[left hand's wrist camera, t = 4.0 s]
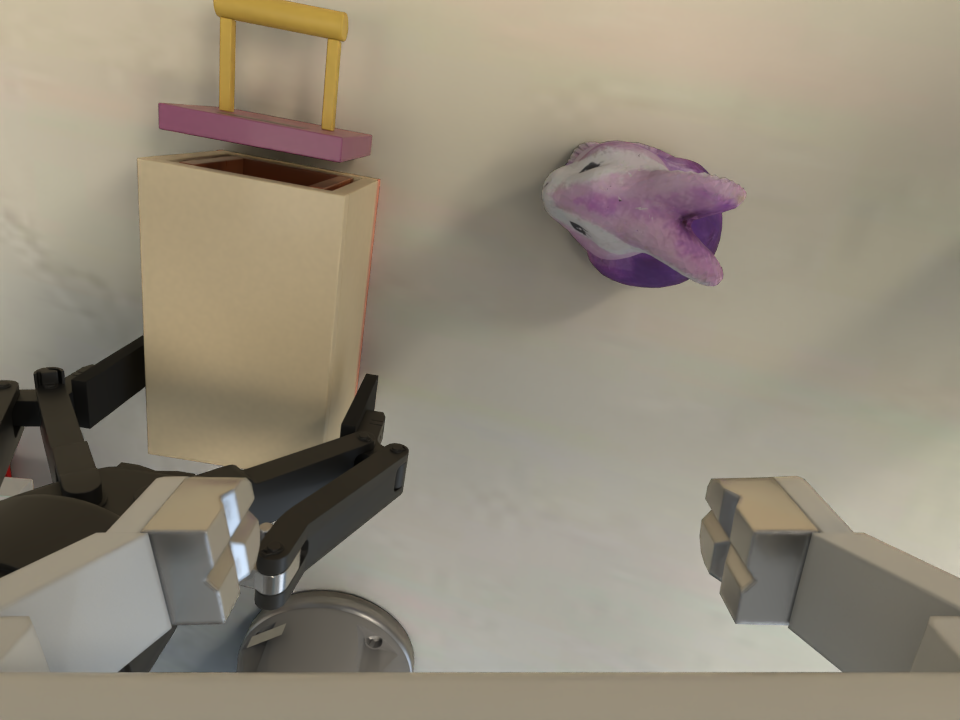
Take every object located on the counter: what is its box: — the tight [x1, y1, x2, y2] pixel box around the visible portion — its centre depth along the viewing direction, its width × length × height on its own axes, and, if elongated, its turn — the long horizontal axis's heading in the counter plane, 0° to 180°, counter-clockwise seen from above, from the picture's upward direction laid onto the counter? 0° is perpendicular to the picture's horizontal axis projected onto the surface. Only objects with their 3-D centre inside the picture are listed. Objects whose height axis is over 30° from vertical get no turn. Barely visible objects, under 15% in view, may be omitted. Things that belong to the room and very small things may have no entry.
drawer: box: [158, 0, 372, 191], centre depth 34 cm, size 21×9×8 cm, turn 170°
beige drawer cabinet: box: [137, 150, 380, 469], centre depth 36 cm, size 17×10×10 cm, turn 170°
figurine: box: [542, 141, 746, 288], centre depth 31 cm, size 9×10×15 cm
